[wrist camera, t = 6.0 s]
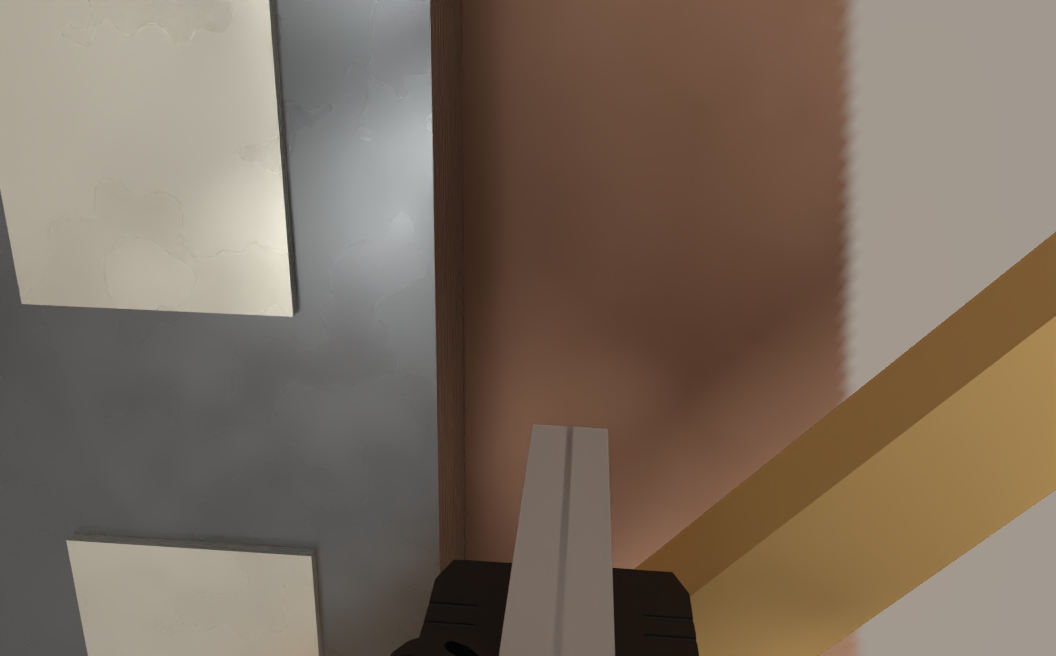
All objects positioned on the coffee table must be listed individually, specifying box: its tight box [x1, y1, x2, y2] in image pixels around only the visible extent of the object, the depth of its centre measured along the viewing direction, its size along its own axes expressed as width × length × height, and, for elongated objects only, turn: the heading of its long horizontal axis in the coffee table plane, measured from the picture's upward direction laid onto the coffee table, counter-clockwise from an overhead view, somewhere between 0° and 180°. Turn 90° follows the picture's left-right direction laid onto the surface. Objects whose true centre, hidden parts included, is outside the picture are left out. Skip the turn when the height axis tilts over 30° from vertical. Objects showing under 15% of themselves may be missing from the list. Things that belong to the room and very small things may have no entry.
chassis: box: [0, 0, 465, 656], centre depth 21 cm, size 30×12×8 cm, turn 179°
